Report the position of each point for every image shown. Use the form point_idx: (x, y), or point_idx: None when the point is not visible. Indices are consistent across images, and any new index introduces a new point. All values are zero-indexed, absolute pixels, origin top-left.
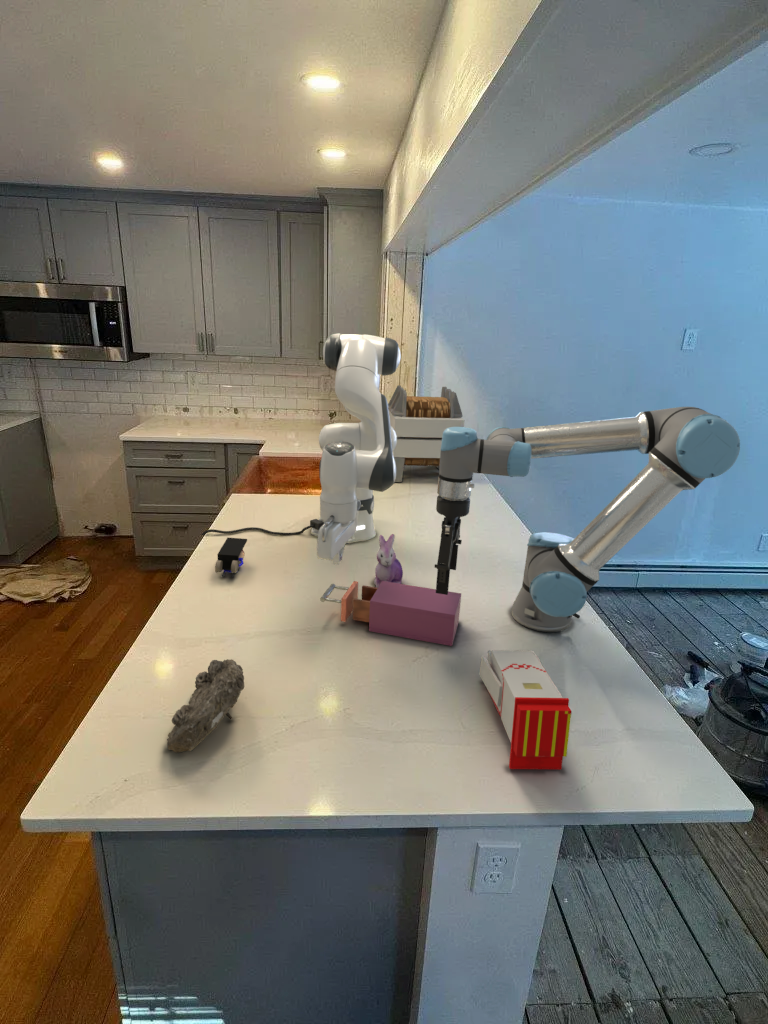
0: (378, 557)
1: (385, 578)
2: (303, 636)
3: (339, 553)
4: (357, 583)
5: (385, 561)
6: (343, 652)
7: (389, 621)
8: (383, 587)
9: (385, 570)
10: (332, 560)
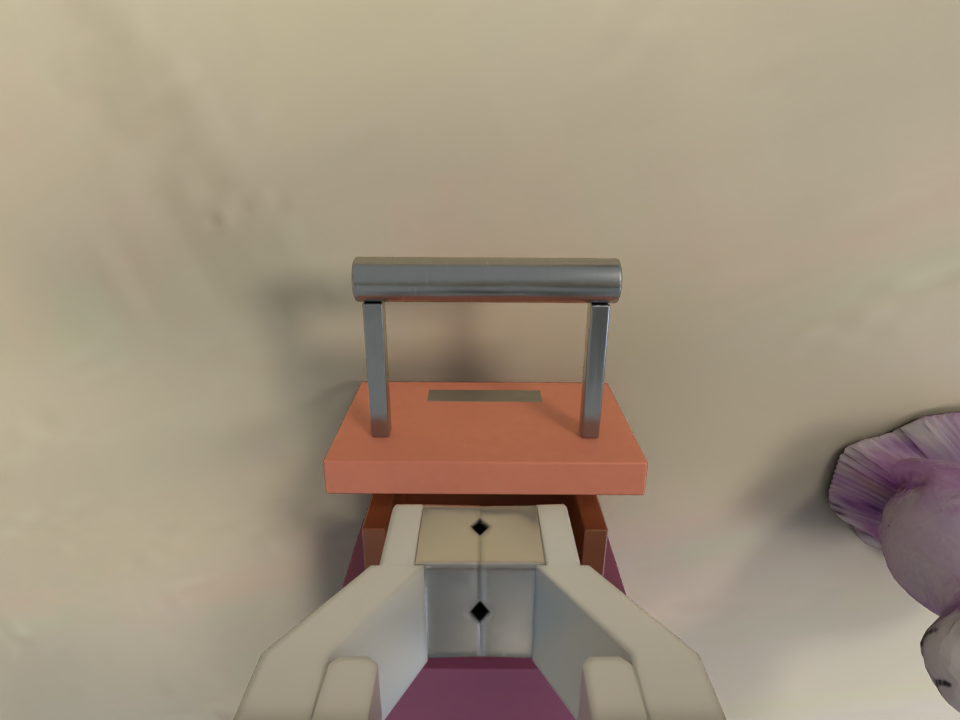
0: None
1: (882, 545)
2: (150, 208)
3: (540, 634)
4: (622, 491)
5: (948, 679)
6: (126, 461)
7: None
8: (545, 697)
9: (921, 591)
10: (390, 529)
